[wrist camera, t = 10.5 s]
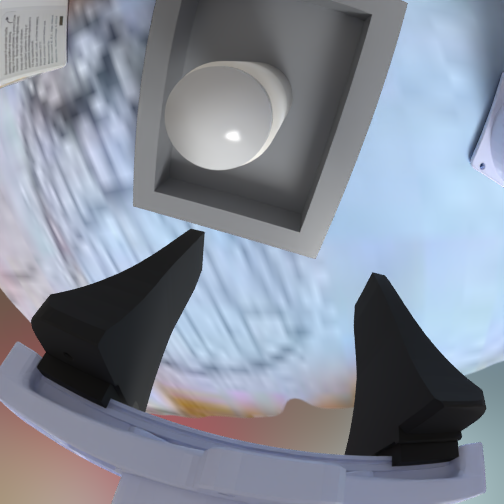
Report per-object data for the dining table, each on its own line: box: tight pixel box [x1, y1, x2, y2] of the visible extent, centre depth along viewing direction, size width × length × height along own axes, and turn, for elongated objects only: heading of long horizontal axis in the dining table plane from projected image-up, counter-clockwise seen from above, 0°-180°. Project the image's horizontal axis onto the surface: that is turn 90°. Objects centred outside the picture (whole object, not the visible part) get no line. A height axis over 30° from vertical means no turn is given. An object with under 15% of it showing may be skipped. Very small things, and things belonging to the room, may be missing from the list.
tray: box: [133, 0, 408, 259], centre depth 16 cm, size 13×17×3 cm
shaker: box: [165, 61, 293, 170], centre depth 13 cm, size 4×4×8 cm
